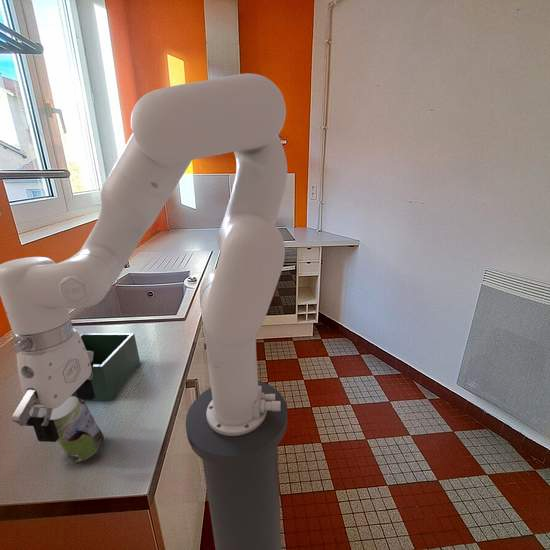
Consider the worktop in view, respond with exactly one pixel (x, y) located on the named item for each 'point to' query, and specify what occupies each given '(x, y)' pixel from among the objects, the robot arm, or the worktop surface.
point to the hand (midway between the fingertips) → (69, 417)
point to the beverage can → (77, 429)
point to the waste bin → (110, 362)
